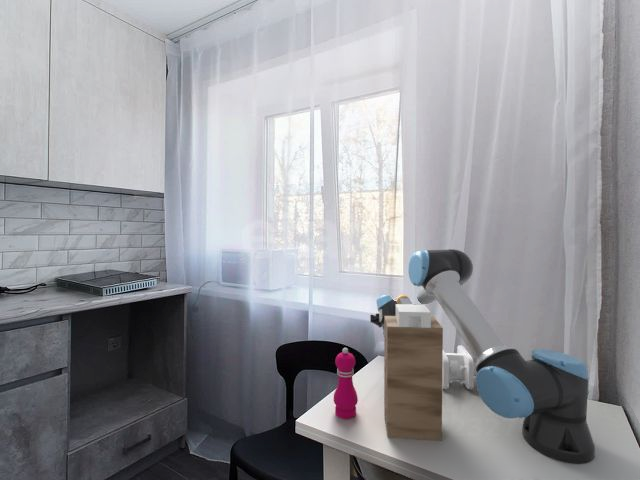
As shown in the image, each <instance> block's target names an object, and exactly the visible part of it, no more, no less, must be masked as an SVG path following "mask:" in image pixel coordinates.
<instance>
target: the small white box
mask: <svg viewBox="0 0 640 480" xmlns="http://www.w3.org/2000/svg"><path fill="white" fill-rule="evenodd" d="M409 298H410V297H409V296H407V295H406V294H399V295H398V296H397V297H396V300H397V304H396V320H397V323H398V325H399V327H421V328H431V317H432V312H431V311H430V310H429V308H427V307H426V306H425V305H416V304H412V302H411V301H410V299H409Z"/></svg>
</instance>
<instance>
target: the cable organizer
mask: <svg viewBox="0 0 640 480" xmlns="http://www.w3.org/2000/svg"><path fill="white" fill-rule="evenodd" d="M456 351H457V352H456V353H455V352H445V350H443V360H442V390H449V388H450V385H452V386H453V381H459V382H460V385H462V384H463V385H465V387H466V390H473V389H474V366H475V365H474V359H473V358H474V357H472V354H470V353H469V352H468V350H467V349H466V348H465V346H464V345H457V348H456Z"/></svg>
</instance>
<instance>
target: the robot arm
mask: <svg viewBox="0 0 640 480" xmlns="http://www.w3.org/2000/svg"><path fill="white" fill-rule="evenodd" d="M407 271H408V278H409V280H410V282H411V284H412V285H413V286H416V287H420V288H421V289H420V288H419V289H420V291H419V293H418V296H417V299H418V301H419V302H420V303H421V304H429V303H432V302H433V303H434V301H435V302H436V301H437V302H438V304H439V305H440V306H441V308H442V310H443V311H444V313H445V314H446V316H447V317H448V319H449V321H450V323H451V324H452V326H453V327H454V328H455V330H456V332H457V333H458V335H459V336H460V338H461V339H462V341H463V343H464V344H465V345H466V347H467V349H468V350H469V352H470V353H471V356H473V358H474V360H475V361H476V365H475V371H476V376H475V385H476V386H477V385H478V388H477V387H476V390H477V393H478V395H479V396H480V398H481V400H482V402H483V403H484V404H485V405H486V407H487V408H488V409H489V410H491V411H492V412H493V413H494V414H495V415H498V416H501V417H502V418H505V419H518V418H519V419H523V423H522V424H521V425H522V427H521V428H522V432H521V434H522V437H523V439H524V440H525V441H526V442H527V444H528V445H529V446H530V447H532V448H533V449H535V450H537V451H538V452H539V453H542V454H543V455H545V456H547V457H550V458H552V459H555V460H556V461H557V460H558V461H561V462H564V463H569V464H570V463H571V464H585V463H589V462H591V461H593V460H594V459H595V450H596V448H595V442H594V440H593V437H592V433H591V431H590V428H589V425H588V421H587V413H588V412H587V411H588V389H589V380H590V378H589V368H588V366H587V365H586V363H585V362H584V361H583V360H581V359H579V358H577V357H575V356H573V355H570V354H567V353H564V352H560V351H555V350H552V349H545V348H536V349H533V350H532V352H531V355H530V357H531V359H529V360H525V359H524V358H523V356H522V355H521V353H520V352H519V350H517V349H516V348H515V347H512V346H508V345H506V344H505V343H504V341H503V339H502V338H501V337H500V336H499V334H498V333H497V331H496V330H495V329H494V328H493V326H492V324H491V323H490V322H489V321H488V320H487V318H486V317H485V315H484V314H483V313H482V311H481V310H480V308H479V307H478V306H477V304H476V303H475V302H474V300H473V299H472V298H471V297H470V295H469V294H468V293H467V291H466V290H465V289H464V288H463V285H464V284H465V283H467V282H468V280H470V278H471V277H472V275H473V272H474V265H473V262H472V259H471V258H470V257H469V256H468V254H466V253H465V252H464V251H462V250H459V249H450V248H449V249H428V250H427V249H424V250H419V251H415V252H414V253H413V254H412V255H411V257H410V258H409V262H408V270H407ZM389 295H390V294H384V295H380V296H378V297H377V299H376V306H377V311H378V313H375V315H374V314H370V315H369V316H370V317H369V318H370V323H372V324H374V325H376V326H378V328H382V331H383V332H382V334H383V336H384V316H396V304H397V301H394V300H395V299H394V300H393V299H392V298H391V297H390V296H389ZM433 303H432V304H433Z"/></svg>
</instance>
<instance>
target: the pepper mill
mask: <svg viewBox="0 0 640 480" xmlns="http://www.w3.org/2000/svg"><path fill="white" fill-rule="evenodd" d="M341 351H342V352H340V353H338V354H337V356H336V357H335V360H334V361H335V362H334V363H335V366H336V368H337V369H336V371H337V372H336V374H337V376H338V383H337V386H336V389H335V391H334V392H333V393H334V394H333V402H334V405H335V407H334V409H335V410H334V413H335V415H336V416H337V417H338V418H340V419H342V420H349V419H353V418H354V417H355V416H356V415H357V406H356V405H358V401H359V400H358V393H357V390H356V388H355V386H354V382H353V376H354V373H355V372H354V371H355V369H354V367H355V365H356V359H355V358H356V357H355V356H354V355H353V353H350V352H349V349H348V348H347V347H344V348H342V350H341Z"/></svg>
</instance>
